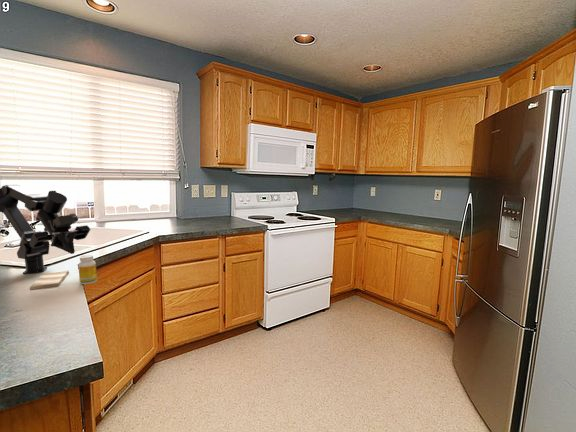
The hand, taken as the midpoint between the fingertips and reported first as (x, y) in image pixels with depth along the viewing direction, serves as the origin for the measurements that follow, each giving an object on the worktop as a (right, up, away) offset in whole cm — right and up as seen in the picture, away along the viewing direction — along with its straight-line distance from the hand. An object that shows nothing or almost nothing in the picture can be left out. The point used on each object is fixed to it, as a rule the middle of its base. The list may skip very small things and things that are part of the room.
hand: (73, 253), depth 114 cm
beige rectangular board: (-8, -10, 0) cm, 13 cm away
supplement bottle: (+7, -11, -2) cm, 13 cm away
